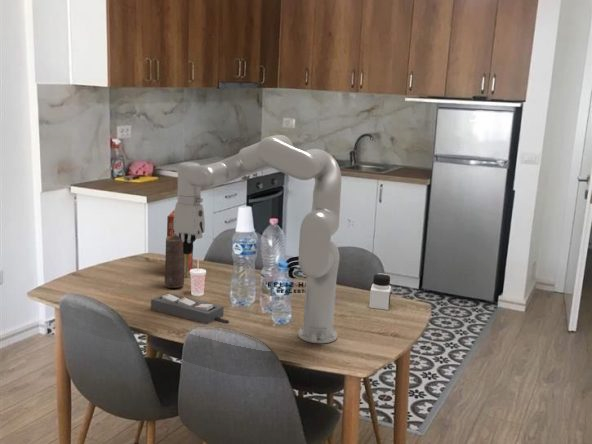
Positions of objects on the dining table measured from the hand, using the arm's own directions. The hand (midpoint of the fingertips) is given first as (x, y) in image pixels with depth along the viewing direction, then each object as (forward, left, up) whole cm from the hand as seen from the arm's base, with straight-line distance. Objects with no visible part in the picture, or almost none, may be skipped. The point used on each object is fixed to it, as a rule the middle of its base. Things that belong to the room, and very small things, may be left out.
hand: (188, 253), depth 218 cm
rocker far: (+3, +6, -18) cm, 19 cm away
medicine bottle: (+19, -68, -21) cm, 74 cm away
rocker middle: (0, 0, -18) cm, 18 cm away
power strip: (-1, -2, -21) cm, 21 cm away
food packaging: (+45, +12, -21) cm, 51 cm away
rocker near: (-3, -6, -18) cm, 19 cm away
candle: (+26, +10, -21) cm, 35 cm away
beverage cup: (+20, 0, -21) cm, 29 cm away
